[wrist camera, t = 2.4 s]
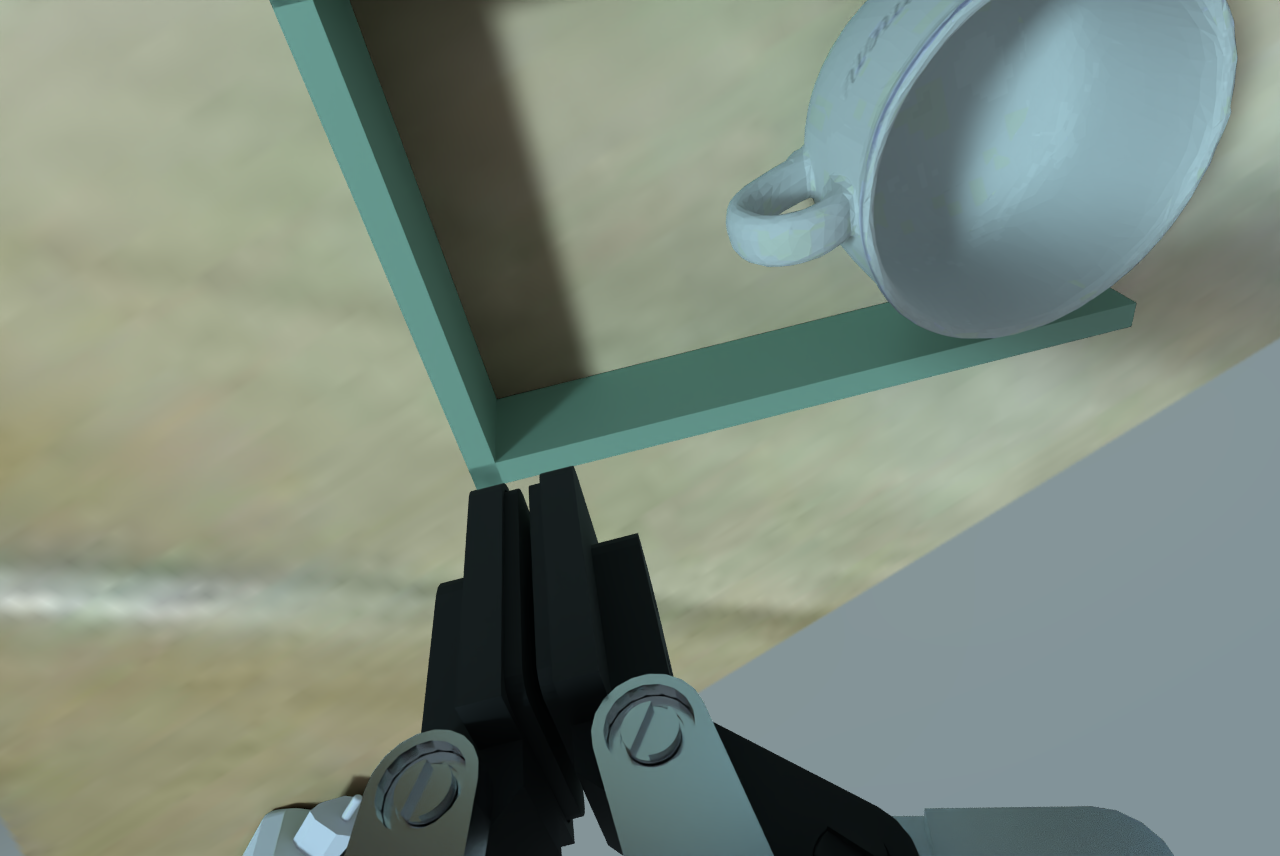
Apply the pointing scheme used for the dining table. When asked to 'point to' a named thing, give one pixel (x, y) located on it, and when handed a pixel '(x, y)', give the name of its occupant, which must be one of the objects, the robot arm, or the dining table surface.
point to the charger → (306, 830)
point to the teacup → (998, 152)
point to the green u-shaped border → (625, 398)
